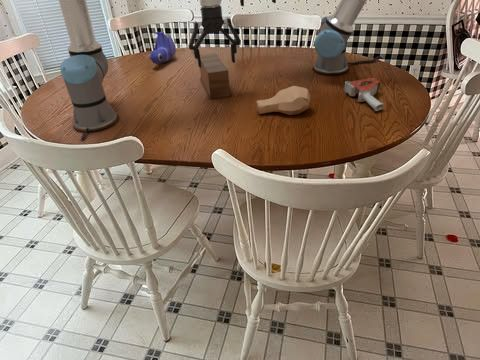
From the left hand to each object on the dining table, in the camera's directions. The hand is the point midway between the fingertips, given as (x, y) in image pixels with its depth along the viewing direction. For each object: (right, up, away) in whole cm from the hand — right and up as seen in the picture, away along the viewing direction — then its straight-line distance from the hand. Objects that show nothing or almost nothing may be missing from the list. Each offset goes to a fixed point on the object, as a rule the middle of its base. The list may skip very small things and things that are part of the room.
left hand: (216, 64), depth 141 cm
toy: (-31, +15, +45) cm, 57 cm away
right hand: (+17, +27, +5) cm, 32 cm away
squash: (+25, -21, -9) cm, 34 cm away
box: (-2, -5, +15) cm, 16 cm away
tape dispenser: (+57, -15, -4) cm, 59 cm away
